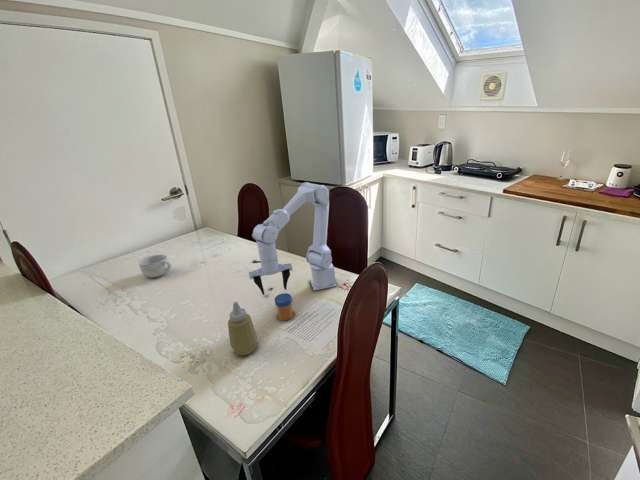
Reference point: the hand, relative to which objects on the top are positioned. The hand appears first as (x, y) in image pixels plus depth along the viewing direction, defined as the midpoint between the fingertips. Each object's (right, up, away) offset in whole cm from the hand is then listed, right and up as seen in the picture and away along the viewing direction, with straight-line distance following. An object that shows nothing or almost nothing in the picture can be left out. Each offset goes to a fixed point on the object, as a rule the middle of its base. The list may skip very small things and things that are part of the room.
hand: (274, 290), depth 113 cm
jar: (+4, -10, +2) cm, 10 cm away
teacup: (-62, +2, +30) cm, 69 cm away
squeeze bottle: (-5, -16, -13) cm, 22 cm away
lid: (+4, -3, -2) cm, 5 cm away
